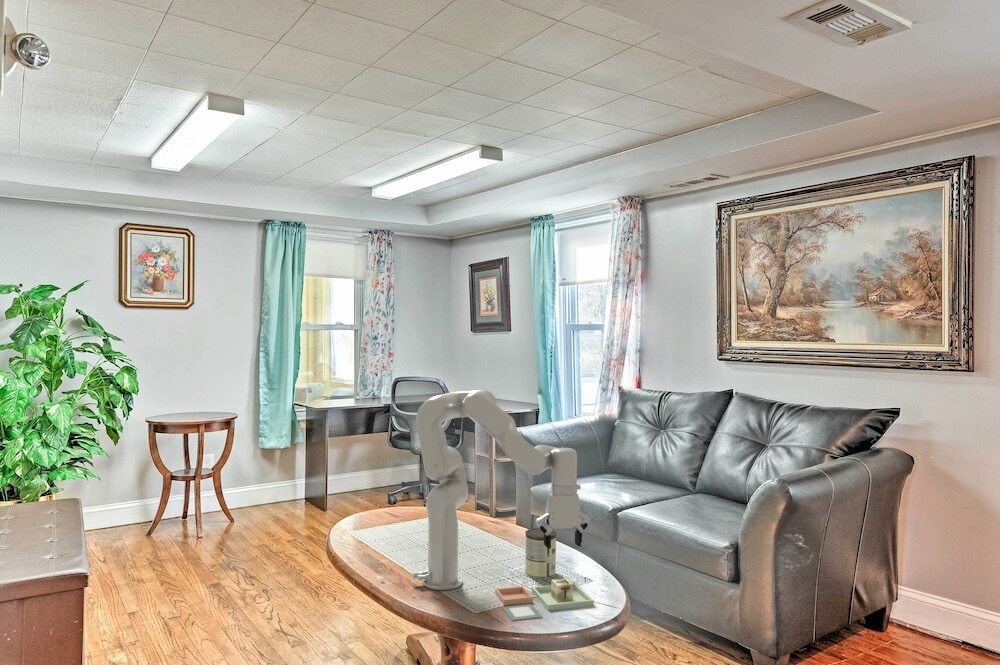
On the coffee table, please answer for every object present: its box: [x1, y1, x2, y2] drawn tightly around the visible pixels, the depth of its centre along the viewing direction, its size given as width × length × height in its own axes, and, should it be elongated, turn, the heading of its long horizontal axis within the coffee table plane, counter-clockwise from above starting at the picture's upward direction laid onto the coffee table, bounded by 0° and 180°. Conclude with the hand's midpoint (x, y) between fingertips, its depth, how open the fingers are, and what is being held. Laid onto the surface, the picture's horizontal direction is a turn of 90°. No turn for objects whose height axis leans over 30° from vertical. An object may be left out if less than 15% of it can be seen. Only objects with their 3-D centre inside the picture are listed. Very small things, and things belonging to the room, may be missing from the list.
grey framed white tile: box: [502, 603, 543, 622], centre depth 199 cm, size 9×9×1 cm
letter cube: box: [550, 578, 573, 602], centre depth 210 cm, size 5×5×5 cm
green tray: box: [530, 582, 595, 611], centre depth 210 cm, size 14×14×2 cm
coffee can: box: [524, 527, 557, 580], centre depth 232 cm, size 10×10×14 cm
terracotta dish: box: [494, 585, 534, 606], centre depth 210 cm, size 9×9×2 cm
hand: (562, 546), depth 210 cm, fingers open, 9 cm apart
